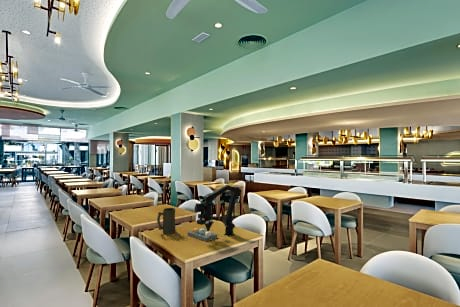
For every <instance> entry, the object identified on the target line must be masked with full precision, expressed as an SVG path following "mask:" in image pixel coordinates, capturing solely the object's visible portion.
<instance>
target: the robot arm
mask: <svg viewBox="0 0 460 307" xmlns="http://www.w3.org/2000/svg"><path fill="white" fill-rule="evenodd" d="M227 191H230V199H229V202H228V206H227V211H226V213H225V215H223V216H222V219H221V221H222V224H223V226H224V227H225V228H224V229H225V231H224V232H225V233H224V234H223V235H225V236H228V237H231V236H234V235H236V234H235V233H234V229H235V228H236V224H234V222H233V220H234V219H233V213H234V209H235V205H236V201H237V198H238V197H239V196H240V193H241V188H240V187H238V186H232V185H229V184H224V185H222V187H220V188H218V189H216V190H215V191H213V192H211V193H207V194H205V195H204V196H203V199H202V200H201V201H200V203H199V202H198V203H197V202H196V203H195V205H194V212H195V213H198V214H197V220H196V224H197V225H201V226H203V225H204V226H205V228H206V229H205V230H206V231H208V232H210V230H211V227H212V226H213V224H214V223H215V222H214V221H216V222H218V221H219V220H220V217H219V216H216V215H213V214H214V212H212V211H213V209H212V208H213V206H215V203H214V202H213V201H215V200H216V198H218V197H220V195H222V194H223V193H225V192H227Z"/></svg>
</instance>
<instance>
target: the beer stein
mask: <svg viewBox="0 0 460 307" xmlns="http://www.w3.org/2000/svg"><path fill="white" fill-rule="evenodd" d="M161 216H162V224H161ZM156 222H157V225H158V231H161V230H162V234H164V235H172V234H175V233H176V232H177V230H176V208H175V207H166V208H163V210H162V212H161V211H159V212H158V214H157V217H156Z"/></svg>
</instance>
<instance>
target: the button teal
mask: <svg viewBox="0 0 460 307" xmlns="http://www.w3.org/2000/svg"><path fill="white" fill-rule="evenodd" d="M205 231H206V229H205V228H200V229H199V234H201V235H203V234H205Z"/></svg>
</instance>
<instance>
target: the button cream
mask: <svg viewBox="0 0 460 307" xmlns="http://www.w3.org/2000/svg"><path fill="white" fill-rule="evenodd" d="M211 233H212V231H208V232H205V236H207V237H209V236H211Z"/></svg>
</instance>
